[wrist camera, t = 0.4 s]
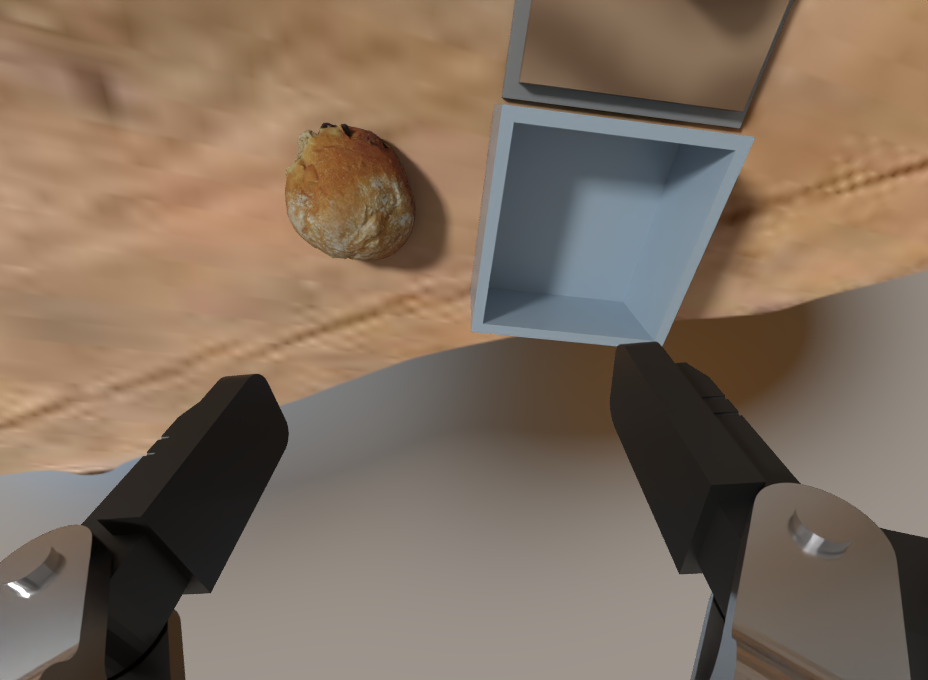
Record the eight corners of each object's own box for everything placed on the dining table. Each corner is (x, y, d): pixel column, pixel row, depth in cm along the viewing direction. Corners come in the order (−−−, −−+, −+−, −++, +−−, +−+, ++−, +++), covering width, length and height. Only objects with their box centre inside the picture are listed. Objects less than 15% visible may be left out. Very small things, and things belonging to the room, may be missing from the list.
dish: (494, 104, 29) (502, 104, 22) (688, 129, 30) (755, 137, 23) (470, 289, 37) (471, 331, 30) (624, 305, 37) (660, 350, 30)
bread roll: (320, 224, 37) (302, 287, 33) (271, 113, 29) (237, 178, 24) (423, 219, 37) (419, 282, 32) (404, 105, 28) (394, 170, 24)
